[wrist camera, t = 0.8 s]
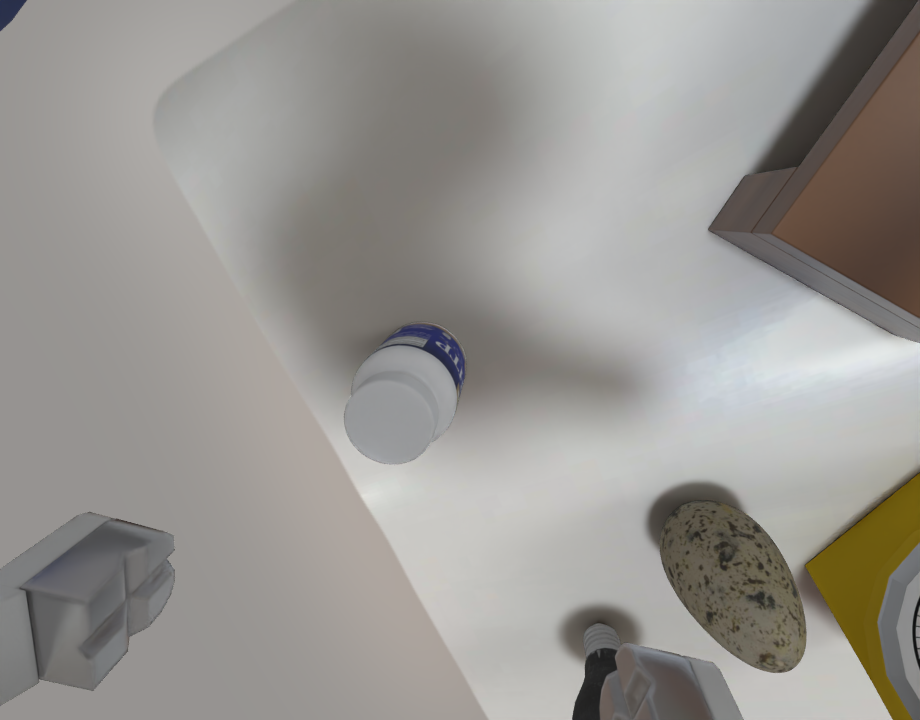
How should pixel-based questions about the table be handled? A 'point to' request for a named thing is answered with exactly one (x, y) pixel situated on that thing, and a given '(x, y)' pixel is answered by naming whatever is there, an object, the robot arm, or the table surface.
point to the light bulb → (596, 669)
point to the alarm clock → (880, 596)
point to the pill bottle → (405, 393)
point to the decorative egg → (735, 583)
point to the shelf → (850, 198)
